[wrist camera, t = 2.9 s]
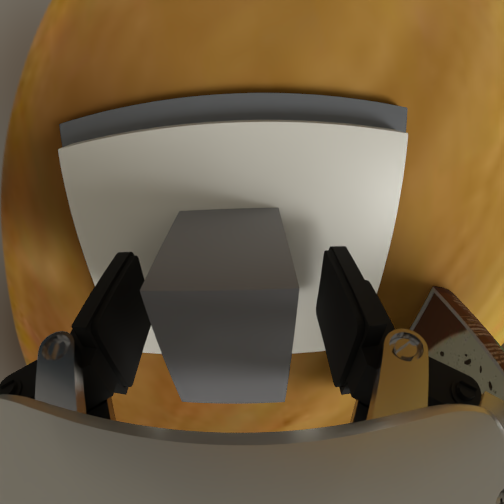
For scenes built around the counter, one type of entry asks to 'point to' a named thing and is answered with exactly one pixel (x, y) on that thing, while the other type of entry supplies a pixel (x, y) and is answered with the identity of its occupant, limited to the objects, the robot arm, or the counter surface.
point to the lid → (235, 236)
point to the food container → (460, 340)
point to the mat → (234, 113)
